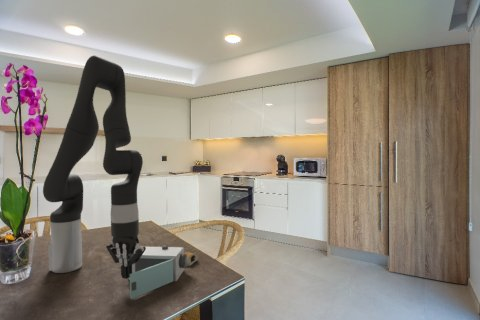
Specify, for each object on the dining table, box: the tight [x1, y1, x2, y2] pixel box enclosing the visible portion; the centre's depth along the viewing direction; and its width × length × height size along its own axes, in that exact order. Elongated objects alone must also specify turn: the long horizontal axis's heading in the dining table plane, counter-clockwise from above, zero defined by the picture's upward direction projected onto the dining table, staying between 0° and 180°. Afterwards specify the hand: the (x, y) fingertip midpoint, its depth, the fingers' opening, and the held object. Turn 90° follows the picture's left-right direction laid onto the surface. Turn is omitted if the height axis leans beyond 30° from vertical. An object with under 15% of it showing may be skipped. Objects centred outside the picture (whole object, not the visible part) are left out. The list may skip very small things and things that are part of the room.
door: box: [129, 258, 177, 300], centre depth 84 cm, size 15×1×7 cm, turn 139°
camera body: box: [127, 244, 188, 282], centre depth 95 cm, size 18×8×9 cm, turn 84°
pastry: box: [184, 251, 198, 267], centre depth 106 cm, size 9×7×4 cm
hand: (126, 277), depth 84 cm, fingers closed
